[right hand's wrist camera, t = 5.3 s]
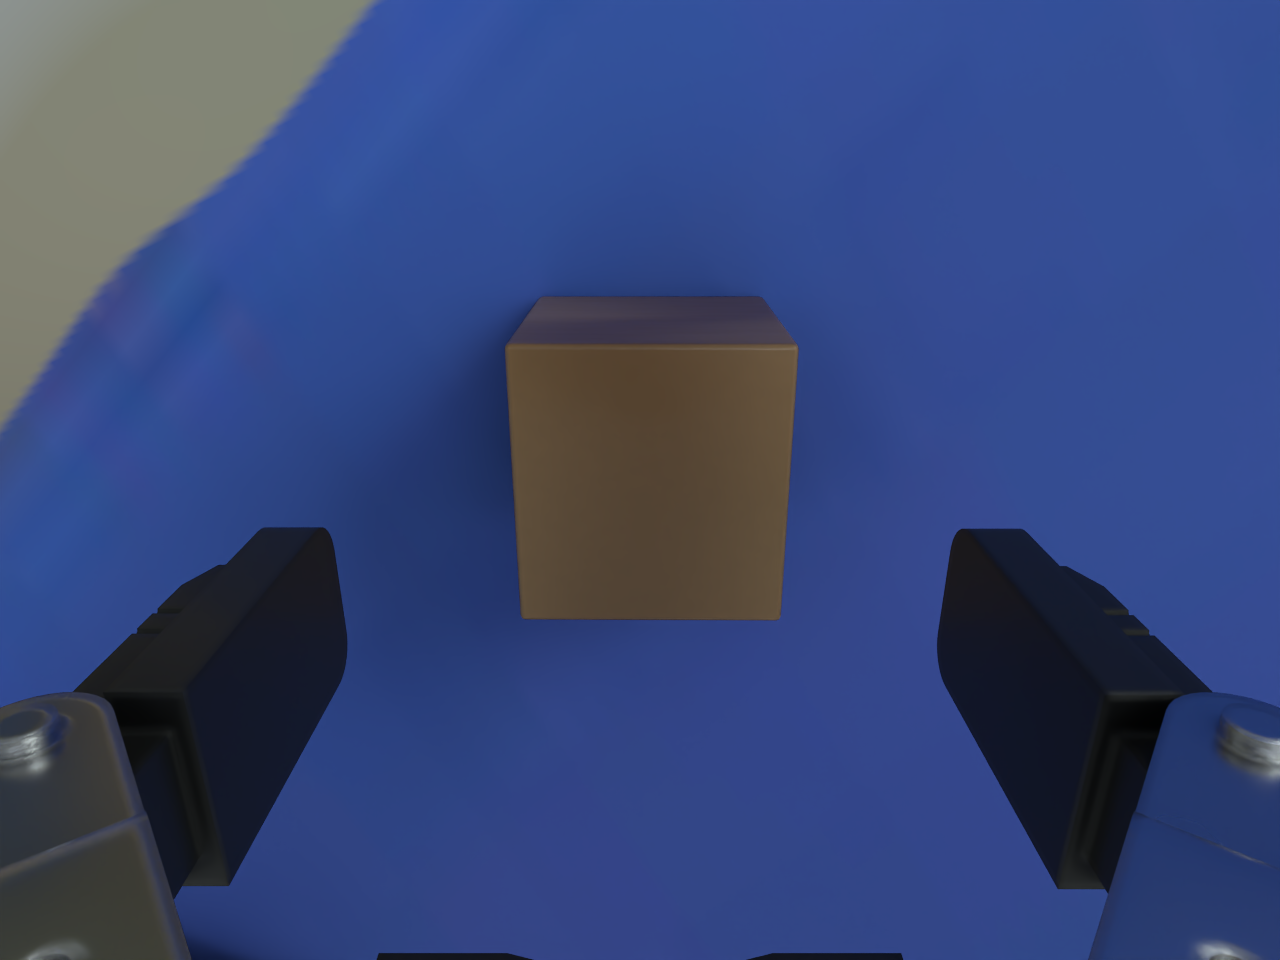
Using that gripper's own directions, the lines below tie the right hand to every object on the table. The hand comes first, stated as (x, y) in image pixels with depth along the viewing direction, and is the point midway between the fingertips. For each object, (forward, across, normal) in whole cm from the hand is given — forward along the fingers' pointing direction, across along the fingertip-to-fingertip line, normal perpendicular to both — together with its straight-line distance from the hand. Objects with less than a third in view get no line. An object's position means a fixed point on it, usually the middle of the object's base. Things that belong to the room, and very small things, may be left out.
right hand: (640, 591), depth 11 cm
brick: (+9, 0, 0) cm, 9 cm away
